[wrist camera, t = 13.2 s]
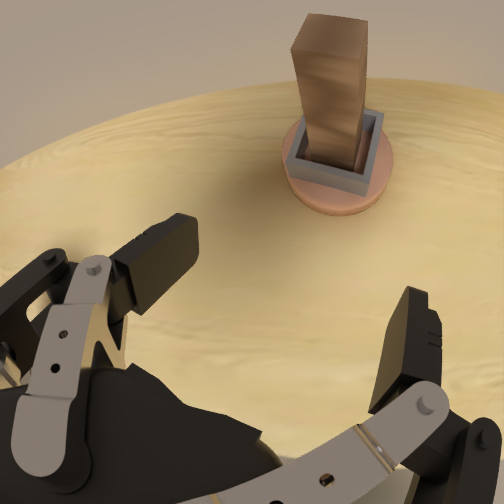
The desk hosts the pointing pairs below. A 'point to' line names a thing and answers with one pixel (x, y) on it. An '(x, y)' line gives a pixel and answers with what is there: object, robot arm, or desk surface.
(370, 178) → the dish
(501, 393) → the desk surface
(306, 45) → the brown wooden block
